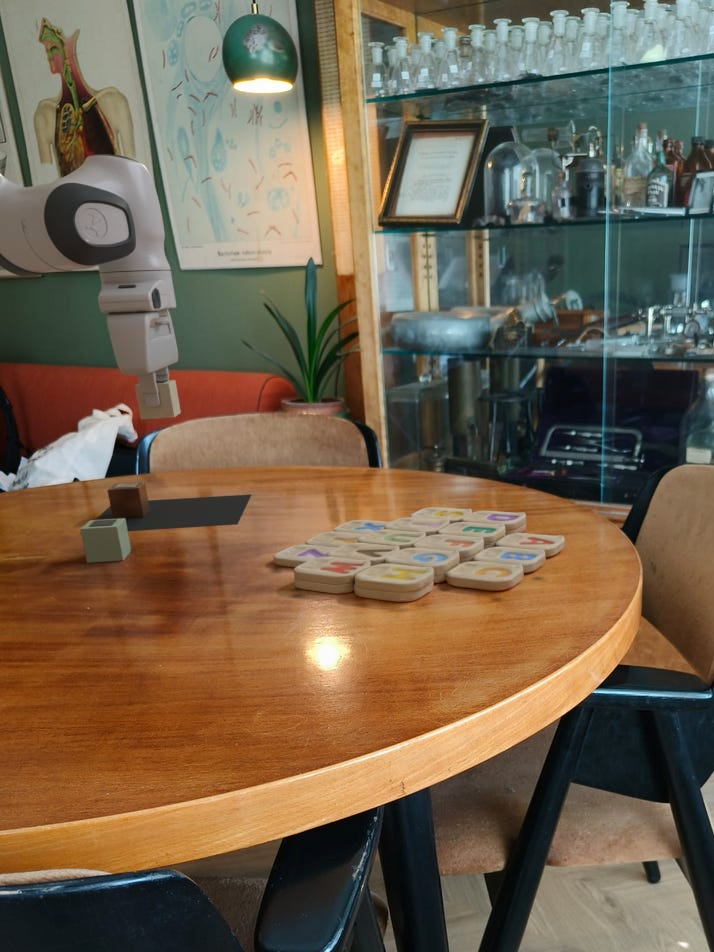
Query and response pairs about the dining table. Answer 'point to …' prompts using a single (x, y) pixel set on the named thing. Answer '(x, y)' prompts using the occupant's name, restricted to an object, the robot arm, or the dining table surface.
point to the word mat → (187, 513)
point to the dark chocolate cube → (128, 500)
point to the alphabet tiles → (420, 554)
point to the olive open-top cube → (105, 540)
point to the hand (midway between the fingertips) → (158, 403)
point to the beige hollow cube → (168, 401)
